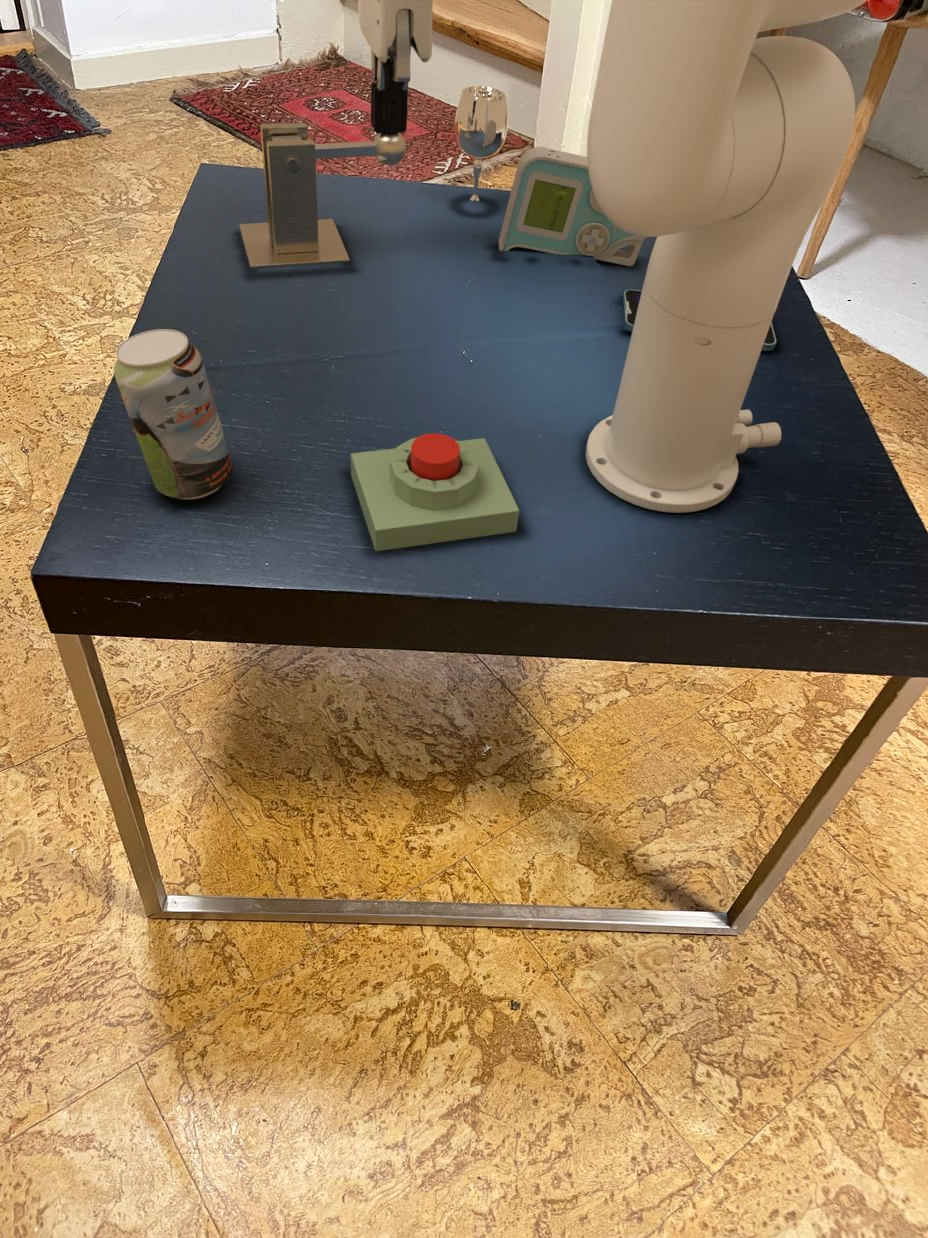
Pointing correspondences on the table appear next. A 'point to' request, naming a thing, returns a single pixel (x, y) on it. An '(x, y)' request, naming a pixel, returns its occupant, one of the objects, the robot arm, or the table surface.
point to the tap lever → (361, 148)
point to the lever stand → (291, 207)
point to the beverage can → (173, 413)
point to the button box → (432, 498)
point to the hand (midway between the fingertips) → (388, 129)
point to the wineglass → (480, 125)
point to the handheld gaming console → (561, 211)
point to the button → (435, 457)
